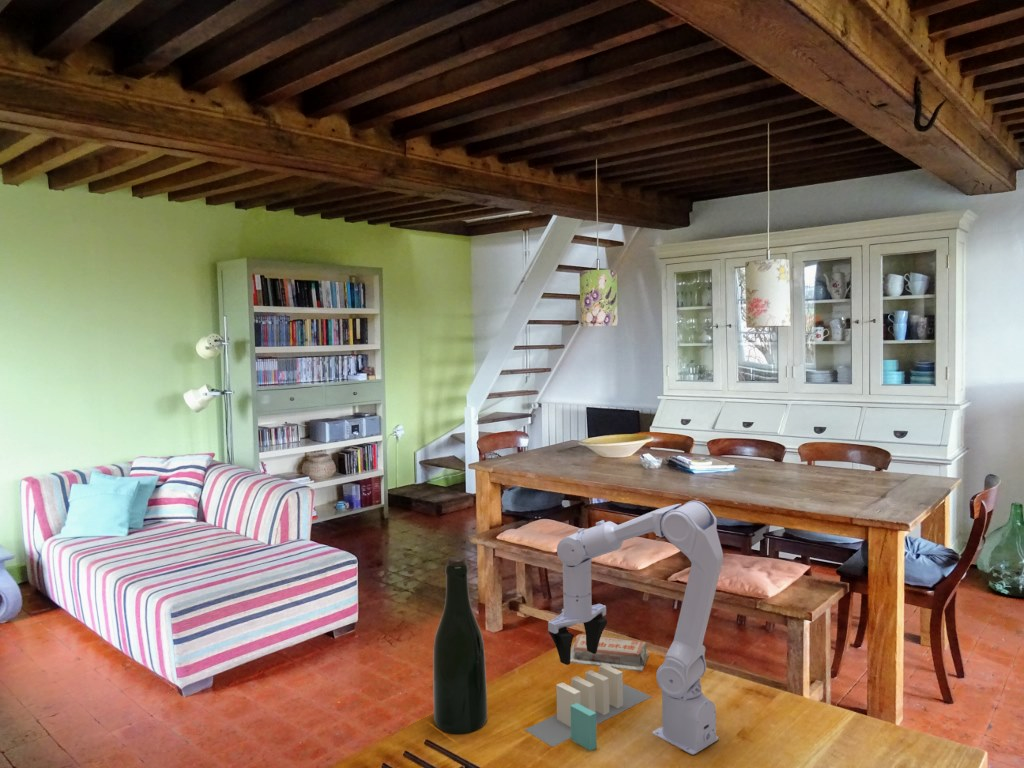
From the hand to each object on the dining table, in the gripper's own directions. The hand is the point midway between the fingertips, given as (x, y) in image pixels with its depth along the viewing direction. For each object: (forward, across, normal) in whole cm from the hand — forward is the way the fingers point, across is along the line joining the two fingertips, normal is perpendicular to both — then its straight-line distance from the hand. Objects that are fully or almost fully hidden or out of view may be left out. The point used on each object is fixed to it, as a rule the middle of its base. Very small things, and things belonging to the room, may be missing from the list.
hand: (578, 657), depth 152 cm
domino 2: (+9, +3, +4) cm, 11 cm away
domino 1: (+9, +7, +5) cm, 13 cm away
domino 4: (+9, -1, +4) cm, 10 cm away
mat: (+10, +1, +4) cm, 11 cm away
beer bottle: (+10, +22, -10) cm, 27 cm away
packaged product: (+10, -19, -11) cm, 24 cm away
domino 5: (+9, -5, +4) cm, 11 cm away
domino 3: (+10, +10, +12) cm, 18 cm away
